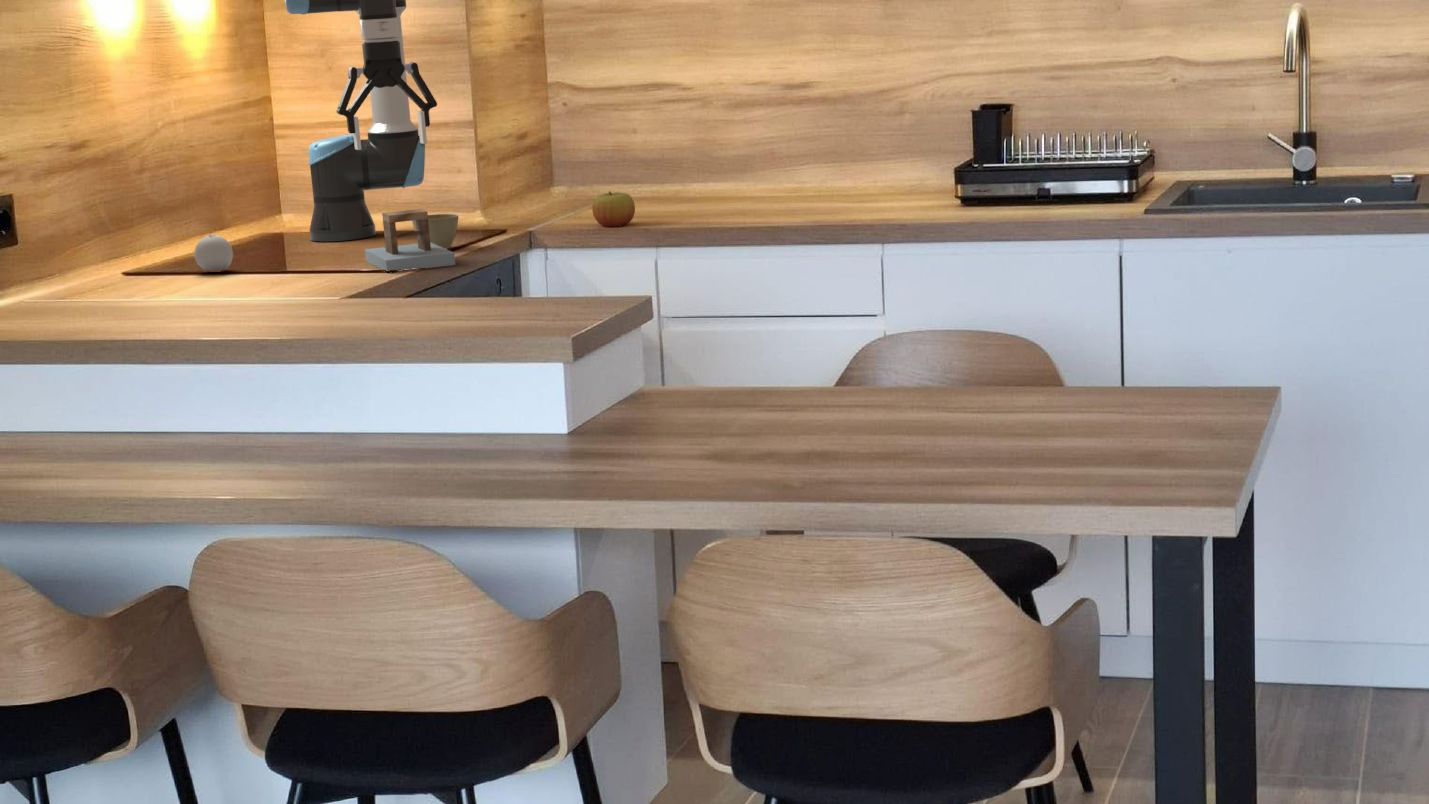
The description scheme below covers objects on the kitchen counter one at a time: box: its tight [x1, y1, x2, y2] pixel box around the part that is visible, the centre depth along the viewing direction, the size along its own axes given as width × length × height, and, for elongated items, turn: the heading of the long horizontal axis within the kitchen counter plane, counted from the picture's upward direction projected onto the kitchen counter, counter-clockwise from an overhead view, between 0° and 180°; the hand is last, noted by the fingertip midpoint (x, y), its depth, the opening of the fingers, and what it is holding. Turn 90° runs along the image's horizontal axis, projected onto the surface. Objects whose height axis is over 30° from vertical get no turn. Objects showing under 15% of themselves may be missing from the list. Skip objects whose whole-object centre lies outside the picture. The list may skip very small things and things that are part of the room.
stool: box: [382, 208, 431, 255], centre depth 358 cm, size 8×6×8 cm
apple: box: [591, 190, 636, 228], centre depth 398 cm, size 10×10×8 cm
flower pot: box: [411, 213, 459, 249], centre depth 376 cm, size 10×10×7 cm
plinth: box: [364, 242, 456, 271], centre depth 359 cm, size 20×14×2 cm
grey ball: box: [193, 233, 234, 271], centre depth 362 cm, size 8×8×8 cm
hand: (391, 146), depth 356 cm, fingers open, 13 cm apart
